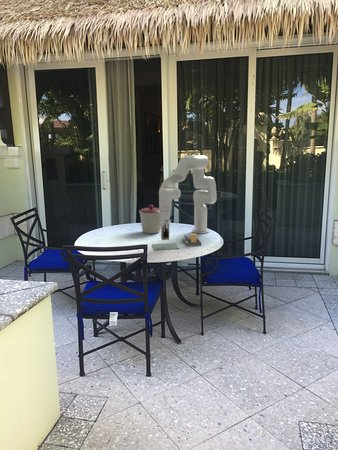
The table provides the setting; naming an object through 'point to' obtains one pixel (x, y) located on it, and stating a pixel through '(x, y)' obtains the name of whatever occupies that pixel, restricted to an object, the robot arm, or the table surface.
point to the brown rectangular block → (162, 233)
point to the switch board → (188, 241)
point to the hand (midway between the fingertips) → (165, 236)
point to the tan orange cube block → (193, 237)
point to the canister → (150, 220)
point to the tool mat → (165, 246)
